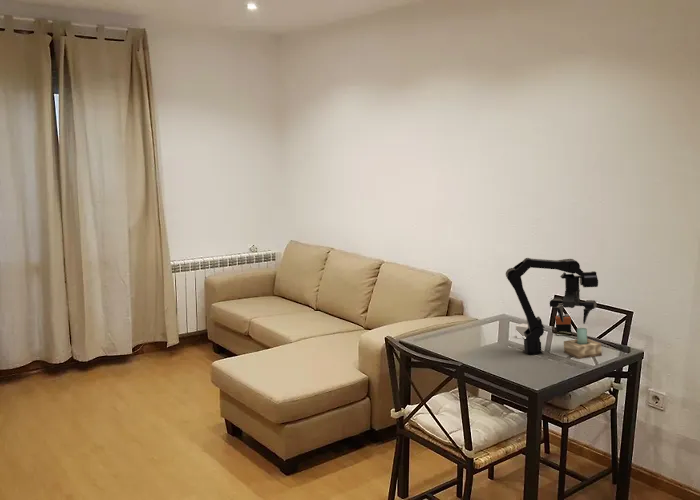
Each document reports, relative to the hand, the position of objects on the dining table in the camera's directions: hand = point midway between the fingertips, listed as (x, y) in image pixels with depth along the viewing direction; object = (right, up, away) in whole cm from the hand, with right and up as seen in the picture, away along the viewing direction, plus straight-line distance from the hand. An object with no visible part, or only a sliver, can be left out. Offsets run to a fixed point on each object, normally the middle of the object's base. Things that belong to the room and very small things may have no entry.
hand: (573, 322), depth 269 cm
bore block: (+3, -13, -4) cm, 14 cm away
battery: (+6, -10, +29) cm, 32 cm away
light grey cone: (-13, -11, +30) cm, 35 cm away
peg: (+3, -12, -4) cm, 13 cm away
